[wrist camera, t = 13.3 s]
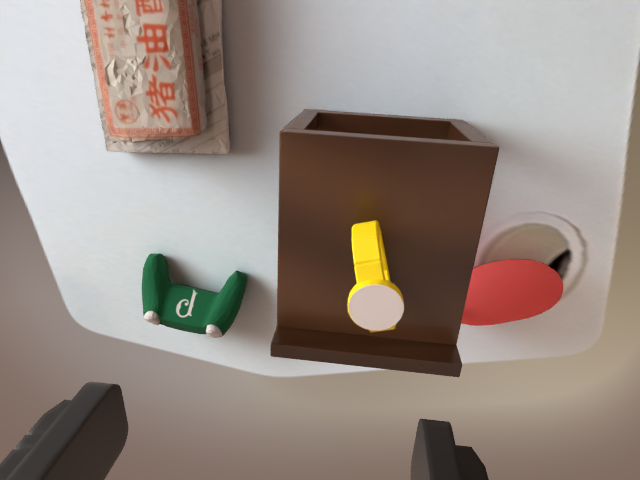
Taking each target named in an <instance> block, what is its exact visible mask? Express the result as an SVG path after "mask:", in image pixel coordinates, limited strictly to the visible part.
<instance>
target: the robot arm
mask: <svg viewBox="0 0 640 480" xmlns="http://www.w3.org/2000/svg"><path fill="white" fill-rule="evenodd" d="M127 435H128V422H127V417H126V412H125V407H124V401H123V396H122V391H121V388H120V386H119V385H116V384H107V383H99V382H88V383H86V384H85V385H84V386H83V387H82V388H81V390H80V391H79V392H78V393H77V395H76V396H75V397H74V398H73V399H72V400H64V401H62V402H61V403H59V404H58V405H56V406H55V407H54V408H52V409H51V410H49V411H48V412H46V413H45V414H44V415H43V416H42V417H41V418H40V419H39V420H38V422H37V423H36V424H35V425H34V426H33V427H32V428H31V430H30V431H29V434H28V435H25V436H24V438H23V439H22V440H21V441H20V442H19V443H18V444H17V446H16V449H15V450H12V451H11V452H10V454H9V455H8V456H7V457H6V458H5V459H4V460H3V461H2V463H1V464H0V480H104V479H105V477H106V476H107V474H108V472H109V471H110V469H111V468H112V466H113V464H114V462H115V460H116V459H117V458H118V456H119V454H120V453H121V451H122V449H123V447H124V445H125V442H126V439H127ZM411 480H489V479H488V476H487V472H486V468H485V466H484V464H483V463H482V462H481V460H480V459H479V457H478V456H477V454H476V453H475V452H474V450H473V449H472V447H467V446H458V445H455V441H454V436H453V431H452V427H451V424H450V422H445V421H436V420H427V419H420V420H419V423H418V427H417V433H416V439H415V444H414V450H413V455H412V461H411Z"/></svg>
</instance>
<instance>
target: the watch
mask: <svg viewBox="0 0 640 480" xmlns="http://www.w3.org/2000/svg"><path fill="white" fill-rule="evenodd" d="M381 233H382V232H381V229H380V226H379V222H378V221H377V220H375V221H369V222H363V223H358V224H354V225H353V226H352V251H353V261H354V265H355V267H354V269H355V275H356V281H357V284H356V285H355V286H354V287H353V288H352V290H351V291H350V293H349V296H348V304H347V305H348V313H349V315H350V317H351V319H352V320H353V321H354V322H355V323H356V324H357V325H359V326H360V327H362V328H364V329H368V330H369V331H371V332H377V331H385V330H393V329H395V327H396V323H397V322H398V321H399V320H400V319H401V317H402V315H403V312H404V300H403V296H402V293H401V291H400V290H399V288H398V287H397V286H396V285H395V284H393V283H392V282H390V276H389V270H388V265H387V260H386V255H385V249H384V244H383V239H382V234H381Z"/></svg>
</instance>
